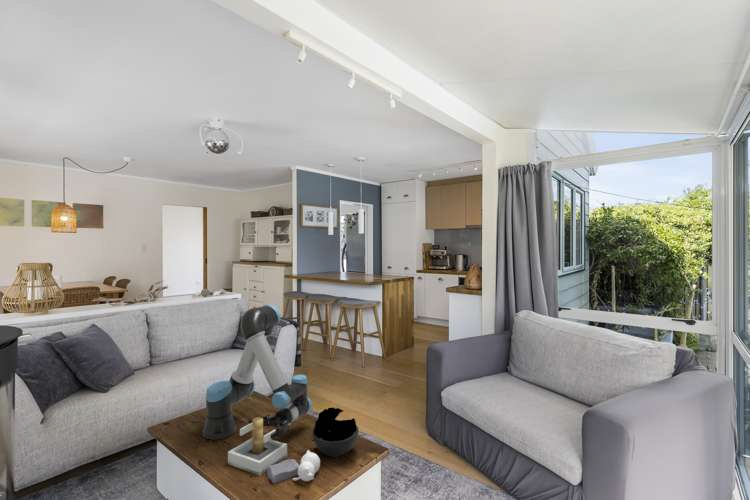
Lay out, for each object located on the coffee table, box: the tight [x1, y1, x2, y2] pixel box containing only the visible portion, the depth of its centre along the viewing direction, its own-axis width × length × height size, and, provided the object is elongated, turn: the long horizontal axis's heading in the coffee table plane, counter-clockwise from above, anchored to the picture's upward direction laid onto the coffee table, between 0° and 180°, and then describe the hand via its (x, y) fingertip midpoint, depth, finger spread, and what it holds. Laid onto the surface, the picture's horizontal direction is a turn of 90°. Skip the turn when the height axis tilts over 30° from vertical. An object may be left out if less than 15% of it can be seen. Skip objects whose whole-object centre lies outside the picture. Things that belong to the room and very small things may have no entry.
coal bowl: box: [312, 407, 360, 458], centre depth 161 cm, size 20×20×19 cm
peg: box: [251, 416, 264, 456], centre depth 157 cm, size 4×4×16 cm
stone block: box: [266, 458, 300, 484], centre depth 147 cm, size 12×5×10 cm
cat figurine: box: [292, 449, 321, 482], centre depth 145 cm, size 9×11×12 cm
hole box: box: [227, 437, 288, 476], centre depth 157 cm, size 18×16×5 cm
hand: (251, 436), depth 154 cm, fingers open, 13 cm apart
